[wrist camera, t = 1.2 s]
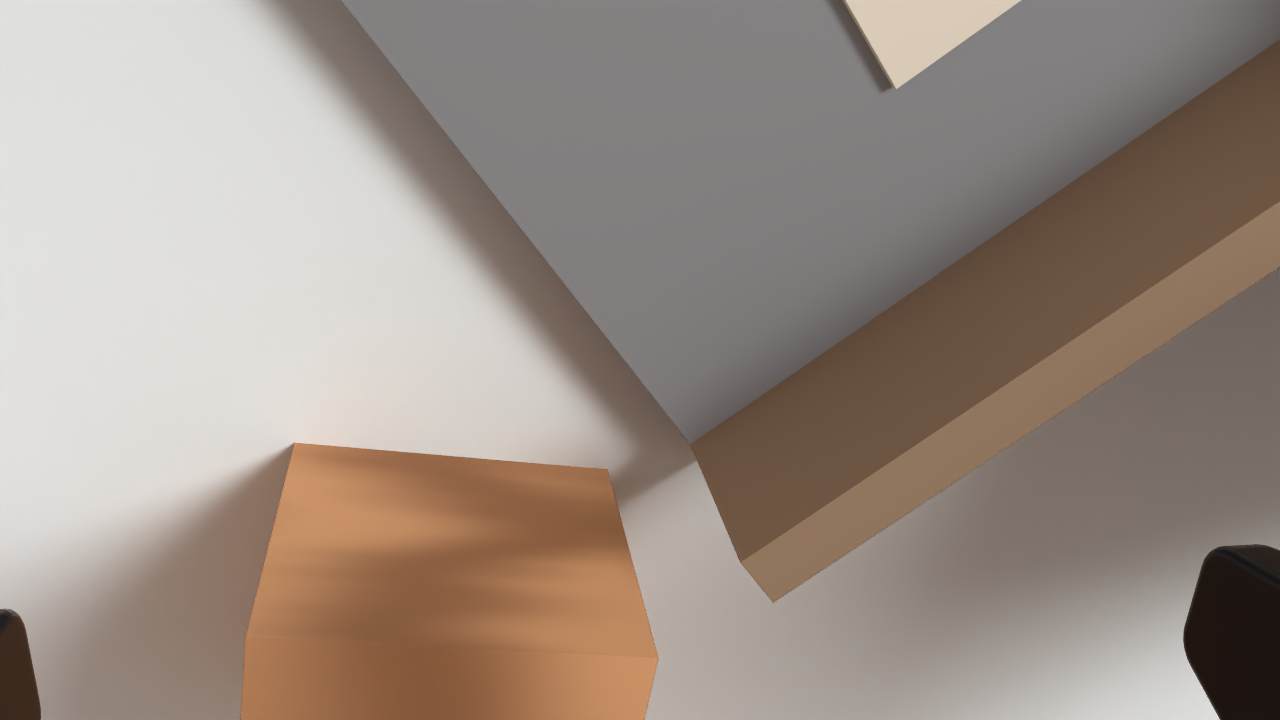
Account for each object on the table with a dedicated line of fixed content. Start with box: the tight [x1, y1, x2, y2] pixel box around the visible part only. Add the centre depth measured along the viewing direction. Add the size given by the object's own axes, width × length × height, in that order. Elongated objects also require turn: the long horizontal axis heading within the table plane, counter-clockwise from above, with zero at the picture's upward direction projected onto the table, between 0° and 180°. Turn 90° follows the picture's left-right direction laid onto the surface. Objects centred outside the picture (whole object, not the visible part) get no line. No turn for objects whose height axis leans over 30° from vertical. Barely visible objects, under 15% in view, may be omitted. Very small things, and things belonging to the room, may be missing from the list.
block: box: [240, 443, 658, 720], centre depth 21 cm, size 6×6×6 cm
